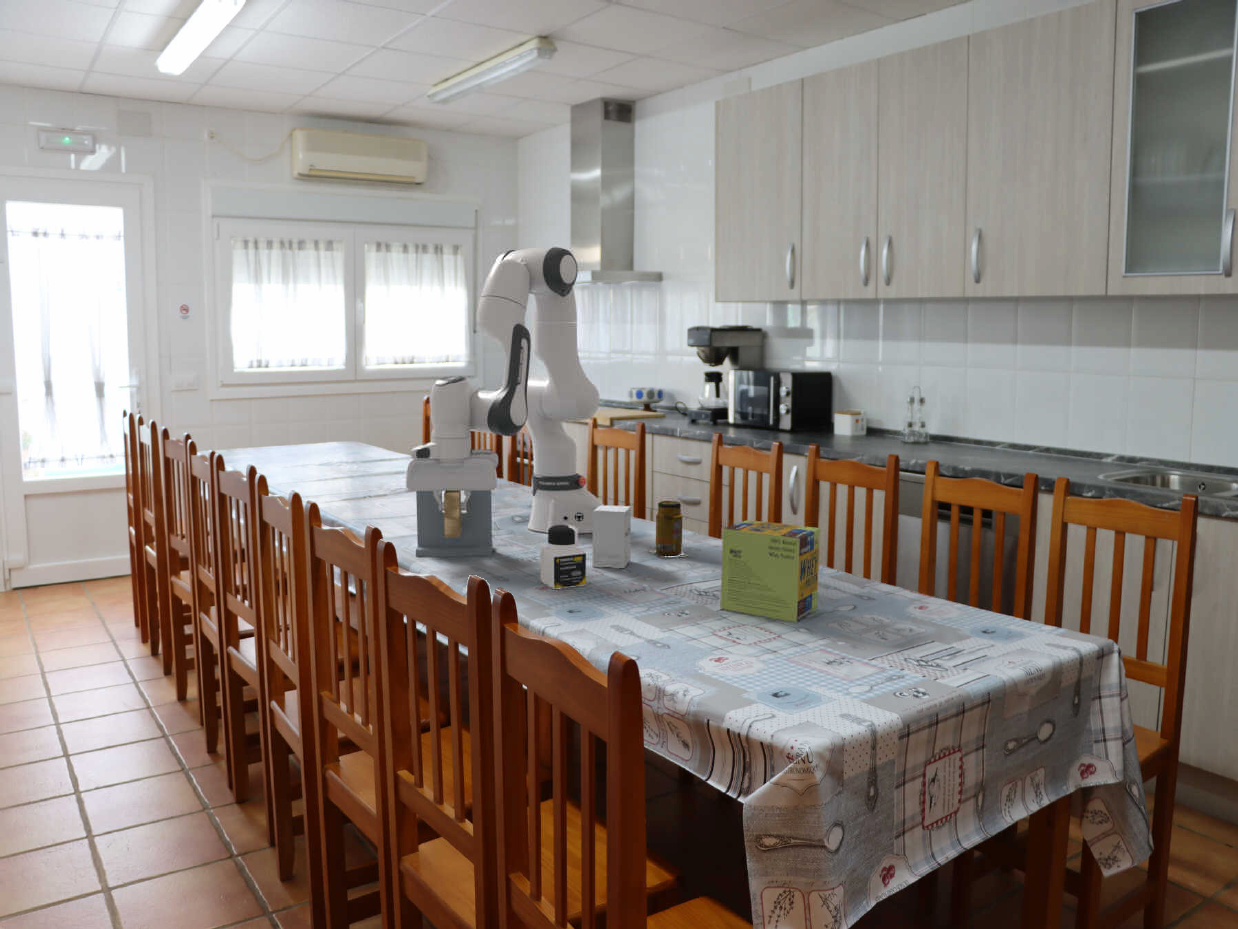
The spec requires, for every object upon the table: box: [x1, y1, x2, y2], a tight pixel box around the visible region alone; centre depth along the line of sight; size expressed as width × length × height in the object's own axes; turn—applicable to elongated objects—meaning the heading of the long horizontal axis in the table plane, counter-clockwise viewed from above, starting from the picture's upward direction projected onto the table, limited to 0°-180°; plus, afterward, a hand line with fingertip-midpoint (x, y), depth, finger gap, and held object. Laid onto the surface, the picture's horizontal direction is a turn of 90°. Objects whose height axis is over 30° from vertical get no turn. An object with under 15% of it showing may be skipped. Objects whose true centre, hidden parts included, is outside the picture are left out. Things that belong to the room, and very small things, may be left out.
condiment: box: [648, 500, 691, 559], centre depth 224 cm, size 7×8×12 cm
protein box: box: [720, 519, 821, 623], centre depth 180 cm, size 10×15×16 cm
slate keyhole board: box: [415, 490, 494, 557], centre depth 225 cm, size 17×8×17 cm, turn 94°
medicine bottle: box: [540, 525, 587, 590], centre depth 197 cm, size 7×7×12 cm
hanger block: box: [443, 491, 463, 537], centre depth 222 cm, size 4×10×10 cm, turn 4°
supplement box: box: [592, 505, 632, 569], centre depth 214 cm, size 7×7×13 cm
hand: (452, 510), depth 220 cm, fingers closed on hanger block, 3 cm apart
